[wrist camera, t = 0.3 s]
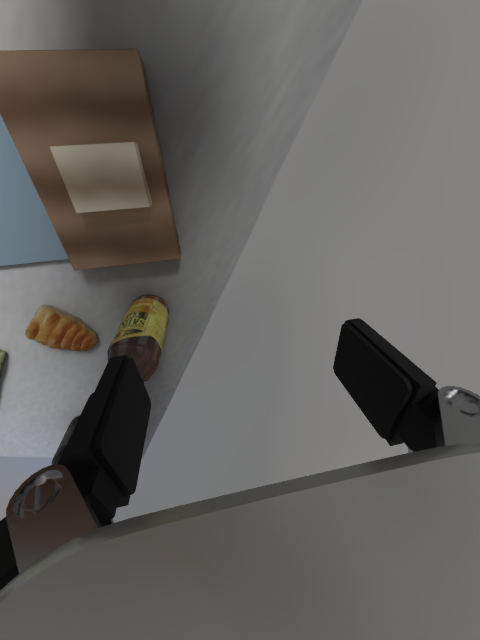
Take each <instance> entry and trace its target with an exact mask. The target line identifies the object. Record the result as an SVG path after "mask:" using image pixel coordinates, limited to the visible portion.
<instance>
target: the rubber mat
mask: <svg viewBox="0 0 480 640" xmlns="http://www.w3.org/2000/svg"><path fill="white" fill-rule="evenodd" d="M63 259H69V258H68V256H67V254H66V252H65V250H64V248H63V246H62V243H61V241H60V239H59V237H58V235H57V233H56V231H55V229H54V226H53V224H52V222H51V220H50V218H49V216H48V214H47V212H46V210H45V207H44V205H43V203H42V201H41V199H40V197H39V195H38V193H37V190H36V188H35V186H34V184H33V182H32V180H31V178H30V176H29V174H28V171H27V169H26V167H25V165H24V163H23V161H22V159H21V157H20V155H19V152H18V150H17V148H16V146H15V144H14V142H13V140H12V138H11V135H10V133H9V131H8V129H7V127H6V125H5V123H4V121H3V119H2V116H1V114H0V266H6V265H15V264H25V263H34V262H44V261H53V260H63Z"/></svg>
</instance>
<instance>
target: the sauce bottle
mask: <svg viewBox="0 0 480 640" xmlns="http://www.w3.org/2000/svg"><path fill="white" fill-rule="evenodd" d="M168 314H169V309H168V307H167V305H166V303H165V302H164V301H163V300H162V299H161V298H159V297H157V296H153V295H145V296H140V297H139V298H137V299H136V300H135V301H134V302H133V303H132V304H131V305H130V307H129V309H128V311H127V313H126V315H125V317H124V319H123V321H122V323H121V325H120V327H119V329H118V331H117V333H116V335H115V337H114V339H113V341H112V343H111V344H110V347H109V349H108V362H109V359H110V358H111V357H115V356H122V355H127V356H128V357H129V358H133V360H134V362H135V364H136V367H137V369H138V372H139V374H140V376H141V379H142V381H143V384H144V381H147V380H148V379H149V378H150V377H151V376H152V375H153V374H154V372H155V370H156V369H157V366H158V362H159V358H160V356H161V351H162V347H163V342H164V337H165V333H166V328H167V323H168V319H169V316H168Z"/></svg>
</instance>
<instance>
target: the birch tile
mask: <svg viewBox="0 0 480 640" xmlns="http://www.w3.org/2000/svg"><path fill="white" fill-rule="evenodd" d="M50 149H51V152H52V154H53V157H54V159H55V162H56V164H57V167H58V169H59V171H60V174H61V176H62V179H63V181H64V184H65V186H66V189H67V191H68V193H69V196H70V198H71V201H72V203H73V206H74V208H75V211H76V213H84V212H96V211H108V210H119V209H131V208H143V207H150V206H152V202H151V197H150V193H149V189H148V185H147V181H146V177H145V173H144V168H143V164H142V160H141V156H140V152H139V148H138V144H137V143H135V142H123V143H105V144H87V145H69V146H50Z"/></svg>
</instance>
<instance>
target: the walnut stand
mask: <svg viewBox="0 0 480 640" xmlns="http://www.w3.org/2000/svg"><path fill="white" fill-rule="evenodd" d="M0 114H1V116H2V119H3V121H4V123H5V125H6V127H7V129H8V131H9V133H10V135H11V138H12V140H13V142H14V144H15V146H16V148H17V150H18V152H19V155H20V157H21V159H22V161H23V163H24V165H25V167H26V169H27V171H28V174H29V176H30V178H31V180H32V182H33V184H34V186H35V188H36V190H37V193H38V195H39V197H40V199H41V201H42V203H43V205H44V207H45V210H46V212H47V214H48V216H49V218H50V220H51V222H52V224H53V226H54V229H55V231H56V233H57V235H58V237H59V239H60V241H61V243H62V246H63V248H64V250H65V252H66V254H67V256H68V258H69V260H70V262H71V265H72V267H73V269H74V271H75V270H84V269H93V268H102V267H111V266H120V265H129V264H138V263H147V262H156V261H165V260H174V259H180V256H181V250H180V245H179V240H178V235H177V230H176V225H175V220H174V215H173V210H172V205H171V200H170V195H169V190H168V185H167V180H166V175H165V170H164V165H163V160H162V155H161V150H160V145H159V140H158V135H157V130H156V125H155V120H154V115H153V110H152V105H151V100H150V95H149V90H148V85H147V80H146V75H145V70H144V65H143V61H142V59H141V57H140V54H139V52H138V50H137V49H100V50H18V51H0ZM123 142H135V143H137V144H138V148H139V152H140V156H141V160H142V164H143V168H144V173H145V177H146V181H147V185H148V189H149V193H150V197H151V202H152V206H150V207H143V208H131V209H119V210H108V211H96V212H84V213H76V211H75V208H74V206H73V203H72V201H71V198H70V196H69V193H68V191H67V189H66V186H65V184H64V181H63V179H62V176H61V174H60V171H59V169H58V167H57V164H56V162H55V159H54V157H53V154H52V152H51V149H50V146H69V145H87V144H105V143H123Z"/></svg>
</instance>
